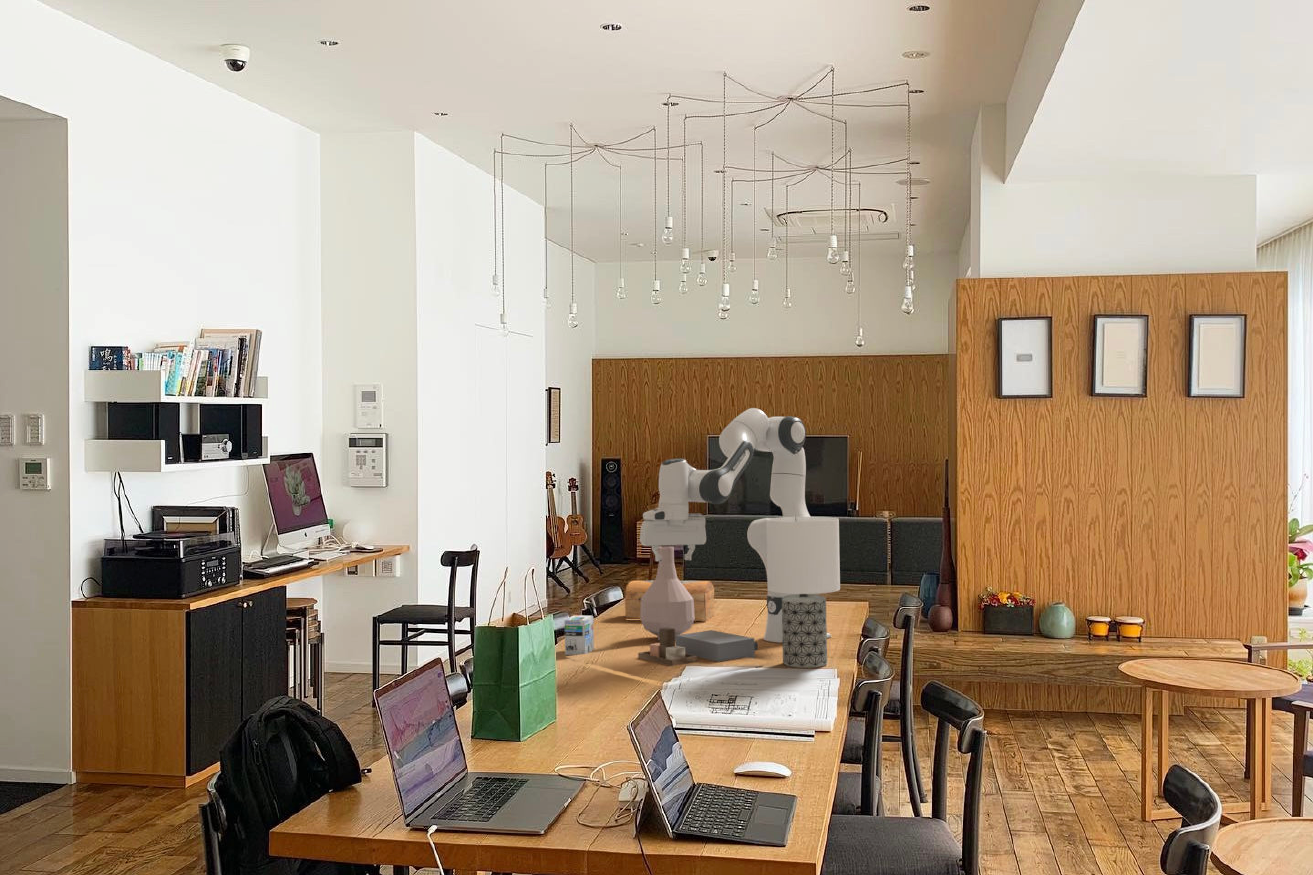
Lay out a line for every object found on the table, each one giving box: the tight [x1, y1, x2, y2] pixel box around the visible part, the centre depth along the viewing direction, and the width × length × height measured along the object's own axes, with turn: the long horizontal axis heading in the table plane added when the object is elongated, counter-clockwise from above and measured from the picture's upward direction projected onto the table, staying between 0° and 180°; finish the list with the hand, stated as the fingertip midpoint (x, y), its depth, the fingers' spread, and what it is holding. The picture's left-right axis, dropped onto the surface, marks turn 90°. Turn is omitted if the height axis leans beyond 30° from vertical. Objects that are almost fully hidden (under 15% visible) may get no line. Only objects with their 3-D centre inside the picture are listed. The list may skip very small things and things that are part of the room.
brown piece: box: [637, 628, 699, 667], centre depth 342 cm, size 10×16×10 cm, turn 37°
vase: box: [640, 546, 695, 641], centre depth 382 cm, size 18×18×30 cm
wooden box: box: [624, 579, 715, 623], centre depth 428 cm, size 30×16×14 cm, turn 74°
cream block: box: [666, 645, 685, 660], centre depth 339 cm, size 4×4×4 cm
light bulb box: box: [564, 614, 595, 656], centre depth 362 cm, size 11×7×11 cm, turn 168°
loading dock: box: [675, 629, 759, 663], centre depth 350 cm, size 15×20×6 cm
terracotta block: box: [649, 642, 660, 657], centre depth 345 cm, size 4×4×4 cm
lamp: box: [766, 516, 841, 669], centre depth 336 cm, size 21×21×42 cm
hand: (673, 560), depth 345 cm, fingers open, 8 cm apart
